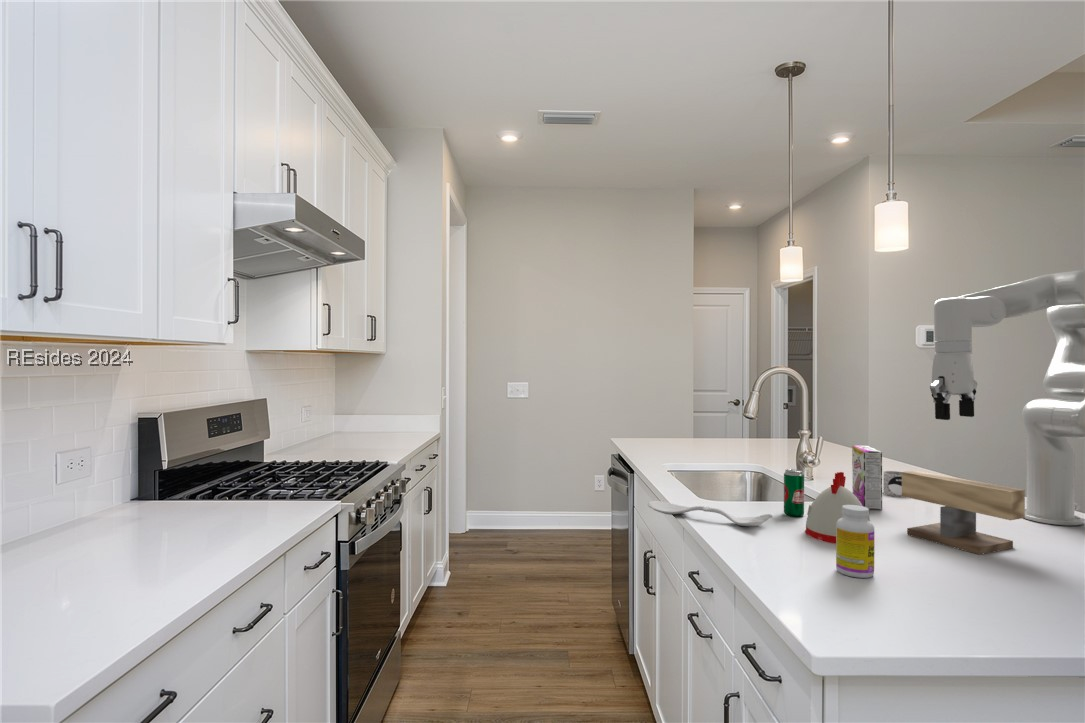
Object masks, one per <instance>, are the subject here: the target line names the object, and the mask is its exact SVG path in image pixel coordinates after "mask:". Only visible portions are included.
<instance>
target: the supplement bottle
mask: <svg viewBox="0 0 1085 723" xmlns="http://www.w3.org/2000/svg"><path fill="white" fill-rule="evenodd" d="M842 514H843V518H840V519H839V520H838V521H837V523H836V543H835V545H836V548H835V554H836V555H835V568H836V570H837V571H838V572H839V573H840V574H842V575H843V576H844V575H845V576H848V577H852V578H857V579H858V578H859V579H868V578H871V577H872V576H874V574H875V526H874V523H872V522H871V520H870V521H868V518H867V517H868V515H869V516H870V509H868V508H866V507H863V506H858V505H843V506H842Z"/></svg>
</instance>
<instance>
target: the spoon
mask: <svg viewBox="0 0 1085 723" xmlns="http://www.w3.org/2000/svg"><path fill="white" fill-rule="evenodd" d="M647 507H649V508H650V509H652V510H653V511H656V512H658V513H661V514H665V515H669V516H670V515H671V516H672V515H674V516H675V515H680V514H684V513H688V512H694V511H703V512H709V513H715V514H719V515H720V516H721V515H722V516H724V517H725V518H727V519H728V520H730V521H731V522H732V523H733V524H735V525H738V526H741V527H753V526H761V525H762V524H764V523H765V522H767V521H768V520H769V519H771V518H772V517H773V515H772V514H771V513H766V514H762V515H758V516H744V517H737V516H734V515H731V514H730V513H728V512H726V511H724V510H723V509H720V508H716V507H715V508H714V507H710V506H705V505H704V506H701V505H697V506H696V505H695V506H685V505H679V504H675V503H671V502H666V501H661V500H650V501H649V502H648V503H647Z"/></svg>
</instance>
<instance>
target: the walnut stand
mask: <svg viewBox="0 0 1085 723" xmlns="http://www.w3.org/2000/svg"><path fill="white" fill-rule="evenodd" d="M939 508H940V511H939V512H940V513H939V515H940V516H939V518H940V519H939V520H940V522H937V523H936V522H935V523H930V524H924V525H919V526H912V527H908V528H907V530H906V531H907V534H908V536H911V535H912V537H914V538H918V537H919V538H918V539H922V538H923V539H922V540H925V539H926V541H929V542H932V541H933V542H932V543H936V542H937V543H936V544H939V543H940V544H939V545H943V544H944V545H943V546H946V545H947V547H950V546H951V548H954V547H955V548H954V549H957V548H959V549H958V550H961V549H963V550H962V551H964V550H966V551H965V552H968V551H969V552H968V553H971V552H973V553H972V554H975V553H976V554H975V555H978V554H981V555H984V554H983V553H985V554H989V553H988V552H990V553H994V551H995V552H999V551H998V550H1000V551H1004V550H1009V549H1013V548H1014V540H1010V539H1006V538H1002V537H999V536H995V535H991V534H986V533H982V532H978V531H977V513H975V512H970V511H966V510H962V509H957V508H953V507H948V506H944V505H942V506H939ZM1008 548H1009V549H1008ZM1003 549H1004V550H1003Z"/></svg>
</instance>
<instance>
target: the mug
mask: <svg viewBox="0 0 1085 723" xmlns="http://www.w3.org/2000/svg"><path fill="white" fill-rule="evenodd" d="M902 472H903V471H897V470H886V471H882V494H884V493H885V494H884V495H886V494H888V495H887V496H889V495H892V496H891V497H897V496H902Z"/></svg>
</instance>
